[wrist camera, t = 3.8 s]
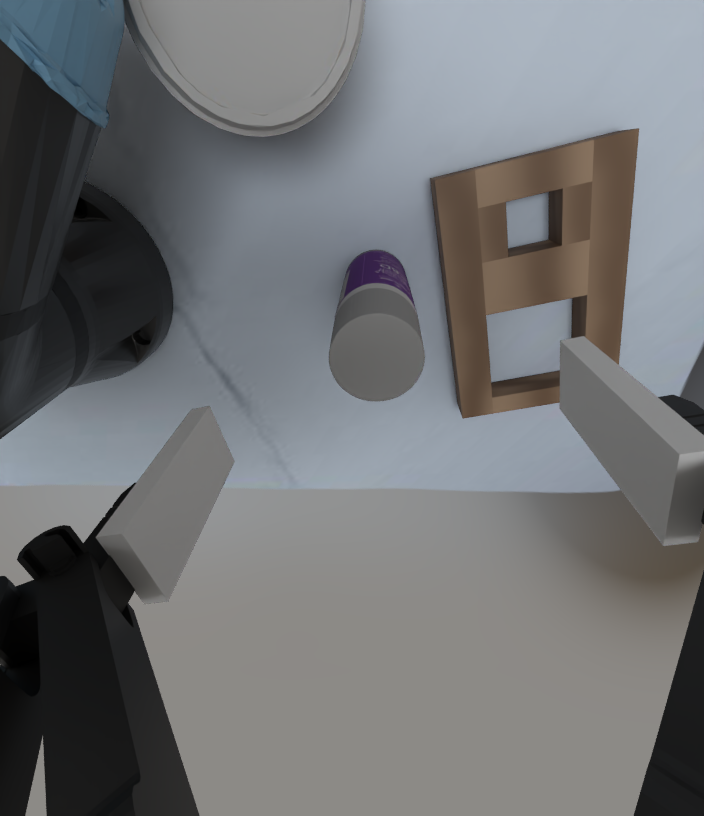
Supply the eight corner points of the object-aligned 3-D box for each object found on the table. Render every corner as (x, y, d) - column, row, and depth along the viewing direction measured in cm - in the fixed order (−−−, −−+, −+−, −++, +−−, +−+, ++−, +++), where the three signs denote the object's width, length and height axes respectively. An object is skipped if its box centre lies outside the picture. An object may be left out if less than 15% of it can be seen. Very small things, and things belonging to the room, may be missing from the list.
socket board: (457, 403, 38) (462, 418, 35) (430, 178, 29) (434, 179, 27) (601, 379, 36) (616, 392, 34) (618, 131, 27) (639, 128, 25)
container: (409, 251, 31) (435, 314, 18) (402, 313, 34) (420, 407, 21) (346, 247, 31) (327, 306, 18) (343, 309, 34) (324, 400, 21)
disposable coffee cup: (150, 97, 26) (115, 111, 17) (137, -144, 20) (75, -323, 11) (304, 133, 29) (347, 160, 20) (329, -69, 23) (404, -161, 14)
